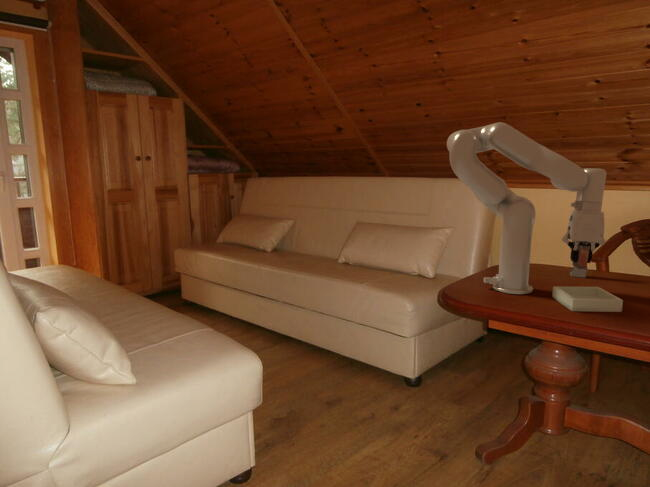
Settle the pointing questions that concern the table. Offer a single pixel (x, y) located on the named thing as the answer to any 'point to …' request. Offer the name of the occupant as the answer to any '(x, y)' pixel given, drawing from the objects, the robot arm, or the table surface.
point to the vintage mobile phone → (578, 272)
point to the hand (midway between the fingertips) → (580, 261)
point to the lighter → (582, 256)
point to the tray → (587, 299)
